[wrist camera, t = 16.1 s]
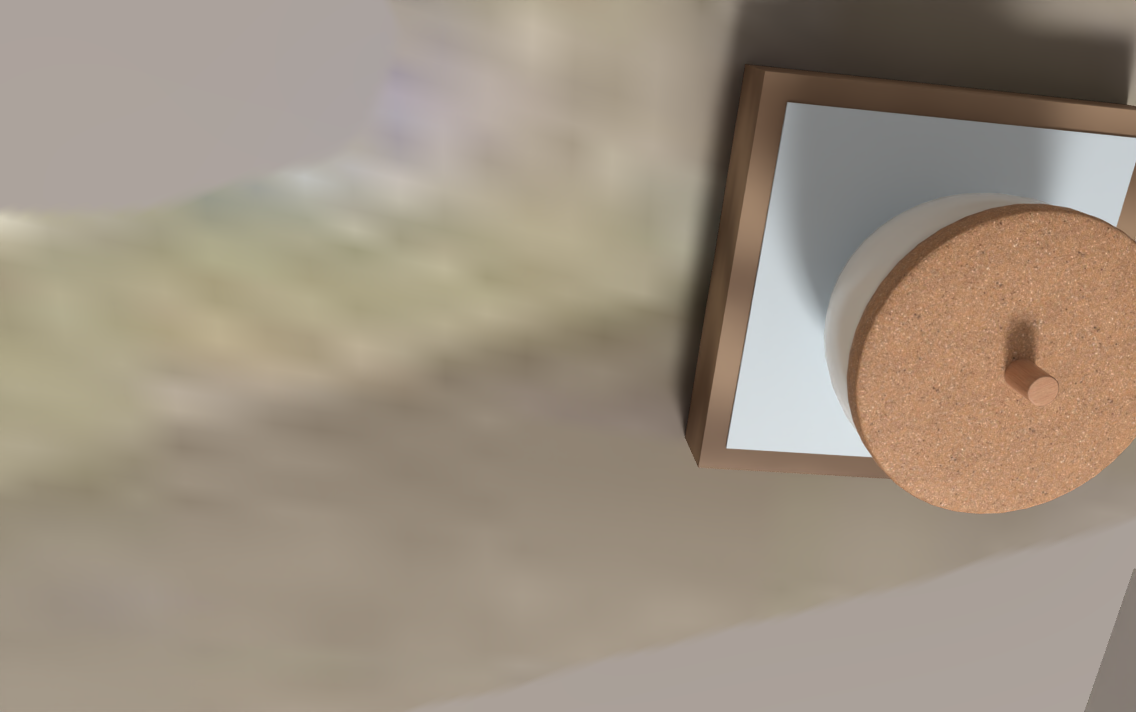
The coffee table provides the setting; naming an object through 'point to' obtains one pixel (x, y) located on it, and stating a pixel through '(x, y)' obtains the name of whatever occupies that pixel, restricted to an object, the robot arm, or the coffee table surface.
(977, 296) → the lidded jar
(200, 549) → the coffee table surface
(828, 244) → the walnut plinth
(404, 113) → the coffee table surface
